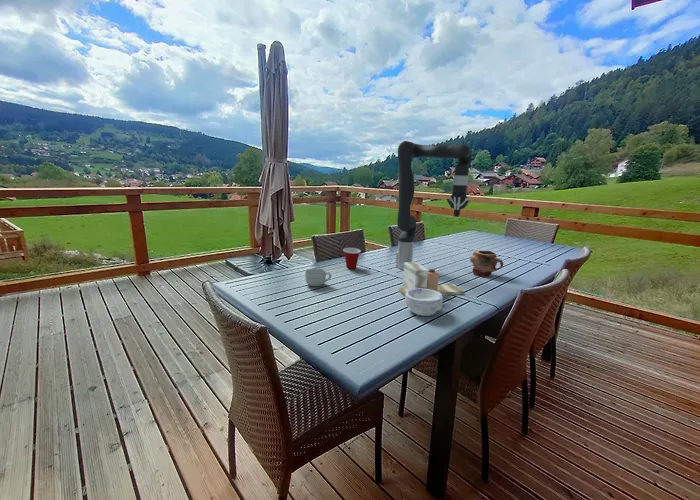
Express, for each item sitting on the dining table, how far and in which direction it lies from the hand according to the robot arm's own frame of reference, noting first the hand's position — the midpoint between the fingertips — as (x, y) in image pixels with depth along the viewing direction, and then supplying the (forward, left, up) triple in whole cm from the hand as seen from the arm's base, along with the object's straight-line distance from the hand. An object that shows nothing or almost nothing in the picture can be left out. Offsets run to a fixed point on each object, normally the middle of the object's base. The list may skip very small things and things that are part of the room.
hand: (456, 216), depth 164 cm
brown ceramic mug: (+13, +16, -35) cm, 40 cm away
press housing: (+5, -31, -35) cm, 47 cm away
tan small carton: (+5, -31, -33) cm, 46 cm away
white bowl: (+14, -53, -35) cm, 65 cm away
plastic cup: (-50, -31, -35) cm, 68 cm away
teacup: (-41, -65, -35) cm, 84 cm away
